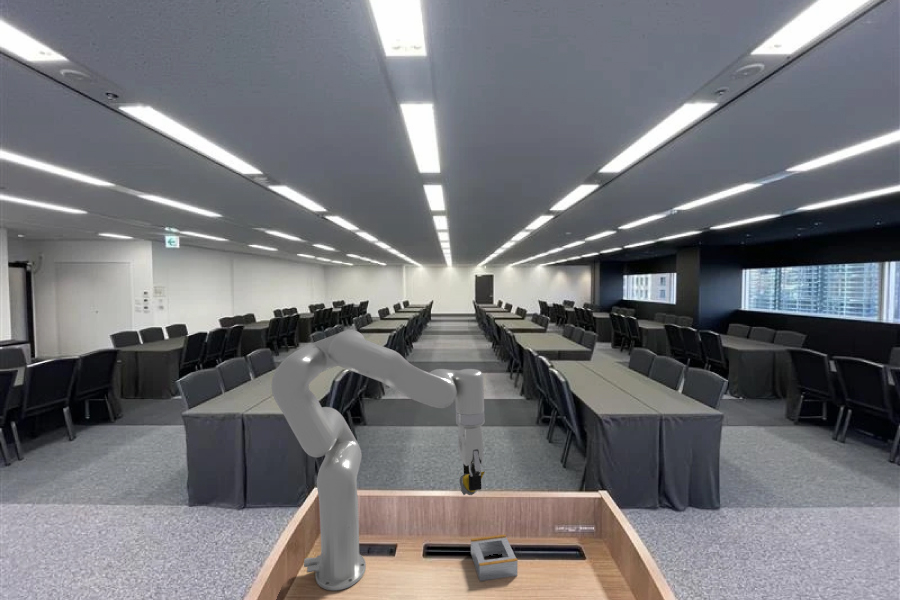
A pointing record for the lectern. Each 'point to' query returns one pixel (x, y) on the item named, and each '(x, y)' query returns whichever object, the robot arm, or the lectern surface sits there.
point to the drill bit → (467, 484)
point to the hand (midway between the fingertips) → (472, 482)
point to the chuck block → (493, 566)
